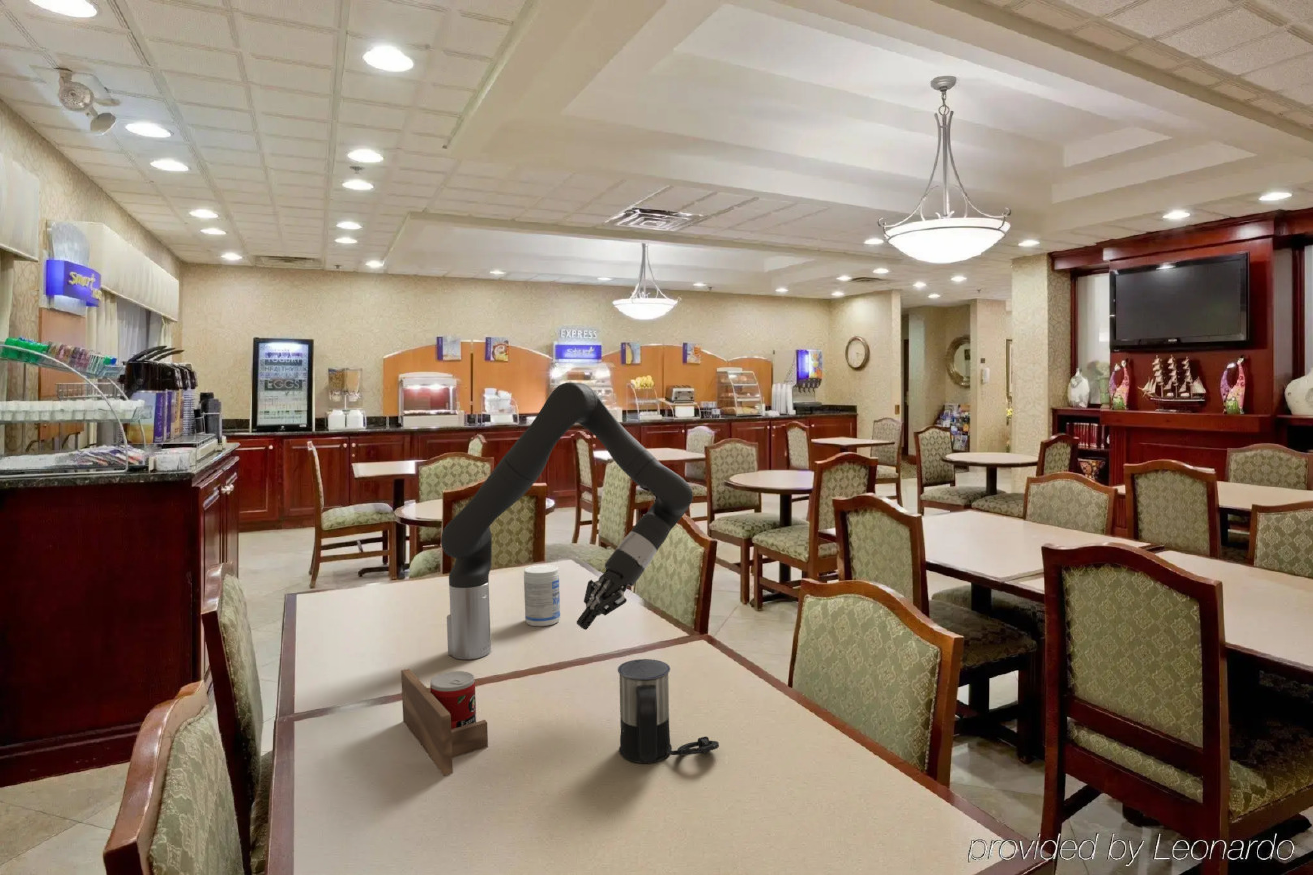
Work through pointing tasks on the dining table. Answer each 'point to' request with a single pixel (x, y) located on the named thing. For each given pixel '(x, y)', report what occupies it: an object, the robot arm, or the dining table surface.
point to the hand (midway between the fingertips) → (580, 626)
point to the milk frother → (649, 714)
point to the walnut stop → (437, 725)
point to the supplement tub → (542, 595)
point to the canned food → (456, 696)
